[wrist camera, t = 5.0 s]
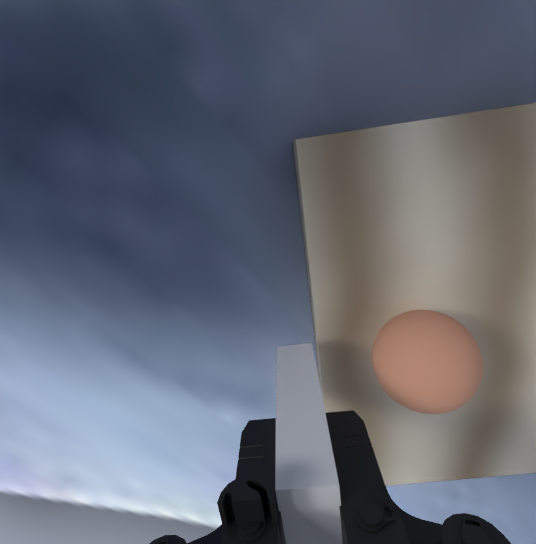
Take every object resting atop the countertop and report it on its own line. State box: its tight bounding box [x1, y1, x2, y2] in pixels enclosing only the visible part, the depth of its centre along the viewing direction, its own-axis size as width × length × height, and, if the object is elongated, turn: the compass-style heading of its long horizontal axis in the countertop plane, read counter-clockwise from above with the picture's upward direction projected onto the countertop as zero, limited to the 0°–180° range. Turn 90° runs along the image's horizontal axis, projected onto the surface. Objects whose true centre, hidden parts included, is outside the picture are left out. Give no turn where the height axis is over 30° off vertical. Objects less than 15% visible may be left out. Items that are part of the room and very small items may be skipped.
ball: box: [372, 310, 483, 414], centre depth 14 cm, size 4×4×4 cm
